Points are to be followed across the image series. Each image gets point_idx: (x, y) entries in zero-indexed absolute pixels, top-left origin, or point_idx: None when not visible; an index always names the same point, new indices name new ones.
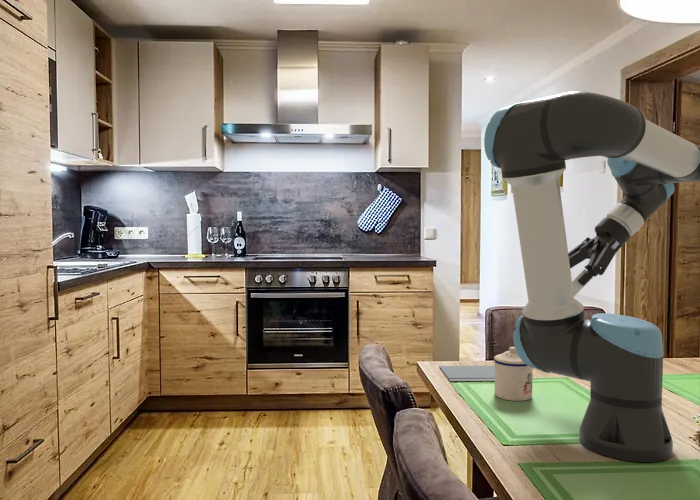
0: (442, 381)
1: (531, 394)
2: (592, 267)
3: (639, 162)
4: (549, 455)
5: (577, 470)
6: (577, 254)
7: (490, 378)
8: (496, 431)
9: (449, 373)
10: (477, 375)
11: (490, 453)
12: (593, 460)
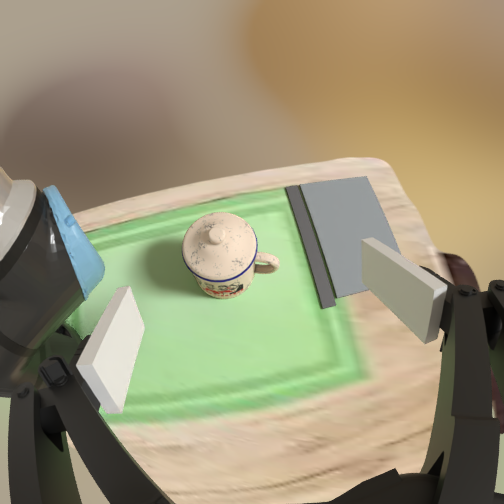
0: (286, 178)
1: (211, 294)
2: (30, 384)
3: None
4: None
5: None
6: (450, 394)
7: (320, 243)
8: (87, 237)
9: (327, 186)
10: (328, 224)
11: None
12: None
